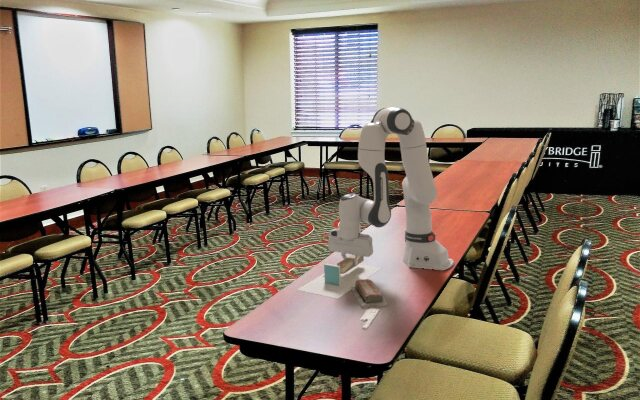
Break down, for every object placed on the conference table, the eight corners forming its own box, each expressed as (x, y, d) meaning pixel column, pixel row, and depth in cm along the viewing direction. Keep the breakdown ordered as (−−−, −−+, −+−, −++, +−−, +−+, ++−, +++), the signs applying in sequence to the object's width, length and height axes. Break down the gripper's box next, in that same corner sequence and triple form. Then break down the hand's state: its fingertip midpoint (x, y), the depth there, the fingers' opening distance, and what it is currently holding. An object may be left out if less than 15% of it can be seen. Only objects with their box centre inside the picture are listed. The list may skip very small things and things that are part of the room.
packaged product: (350, 279, 206) (374, 277, 207) (350, 290, 207) (374, 288, 208) (361, 297, 188) (387, 294, 190) (361, 309, 189) (387, 307, 191)
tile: (340, 284, 211) (340, 266, 209) (339, 285, 210) (338, 267, 208) (326, 281, 214) (325, 263, 213) (324, 282, 213) (323, 264, 212)
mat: (381, 268, 228) (381, 267, 228) (337, 299, 197) (337, 298, 197) (344, 262, 239) (344, 261, 238) (296, 290, 207) (296, 289, 207)
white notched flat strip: (352, 327, 175) (352, 324, 175) (366, 310, 189) (366, 307, 188) (367, 330, 173) (367, 326, 173) (380, 311, 187) (379, 308, 186)
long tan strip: (363, 260, 230) (363, 252, 229) (343, 273, 215) (343, 264, 215) (357, 259, 232) (357, 251, 231) (337, 272, 217) (336, 263, 216)
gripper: (375, 233, 217) (375, 264, 220) (333, 227, 228) (334, 257, 231) (368, 237, 212) (369, 269, 215) (325, 231, 223) (326, 262, 226)
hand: (350, 263), depth 223 cm, fingers closed on long tan strip, 3 cm apart
